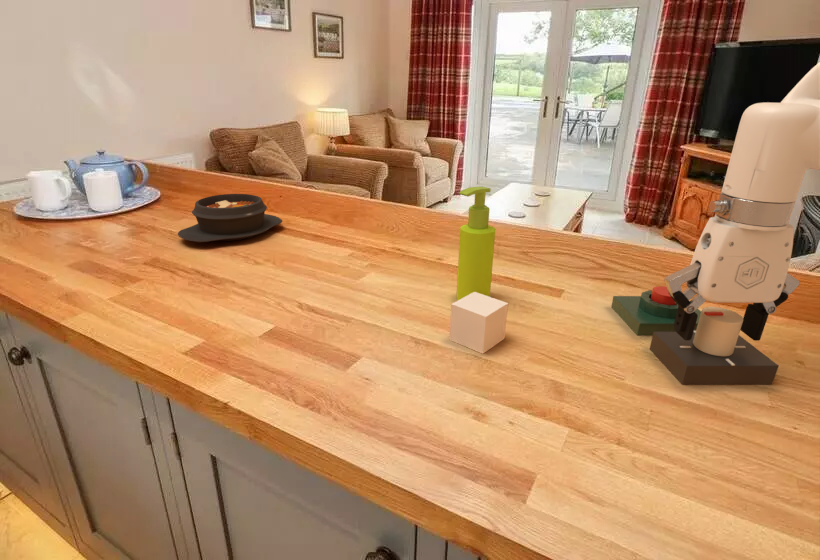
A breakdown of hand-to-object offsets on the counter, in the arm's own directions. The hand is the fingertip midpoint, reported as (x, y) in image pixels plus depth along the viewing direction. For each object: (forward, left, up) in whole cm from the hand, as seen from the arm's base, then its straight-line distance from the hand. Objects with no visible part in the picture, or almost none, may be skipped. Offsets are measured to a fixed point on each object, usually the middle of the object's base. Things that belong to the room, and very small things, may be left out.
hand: (715, 335), depth 66 cm
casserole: (+83, -59, -5) cm, 102 cm away
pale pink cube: (+31, -8, -5) cm, 32 cm away
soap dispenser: (+30, -22, -5) cm, 37 cm away
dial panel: (0, 0, -5) cm, 5 cm away
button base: (0, -14, -5) cm, 14 cm away
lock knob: (0, 0, -2) cm, 2 cm away
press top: (0, -14, -1) cm, 14 cm away
